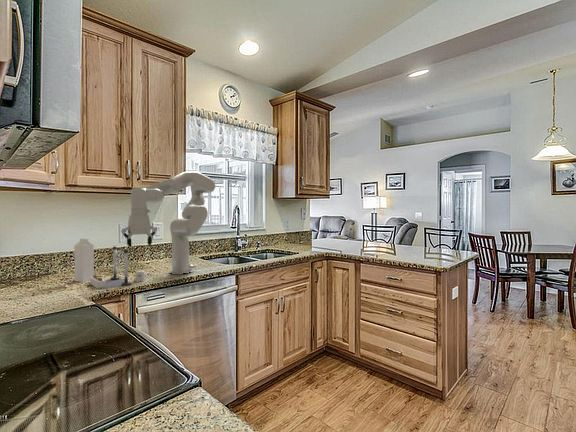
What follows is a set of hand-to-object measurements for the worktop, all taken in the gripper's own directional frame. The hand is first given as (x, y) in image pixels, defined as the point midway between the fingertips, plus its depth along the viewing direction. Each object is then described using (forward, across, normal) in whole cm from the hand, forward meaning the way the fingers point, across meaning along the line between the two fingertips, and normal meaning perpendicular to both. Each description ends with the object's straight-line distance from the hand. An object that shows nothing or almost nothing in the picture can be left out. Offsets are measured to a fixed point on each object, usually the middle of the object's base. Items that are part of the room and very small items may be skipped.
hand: (139, 245), depth 168 cm
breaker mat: (+18, +14, +1) cm, 23 cm away
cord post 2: (+17, +9, +9) cm, 22 cm away
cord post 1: (+17, +10, -8) cm, 21 cm away
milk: (+18, +22, -16) cm, 33 cm away
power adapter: (+19, 0, 0) cm, 19 cm away
